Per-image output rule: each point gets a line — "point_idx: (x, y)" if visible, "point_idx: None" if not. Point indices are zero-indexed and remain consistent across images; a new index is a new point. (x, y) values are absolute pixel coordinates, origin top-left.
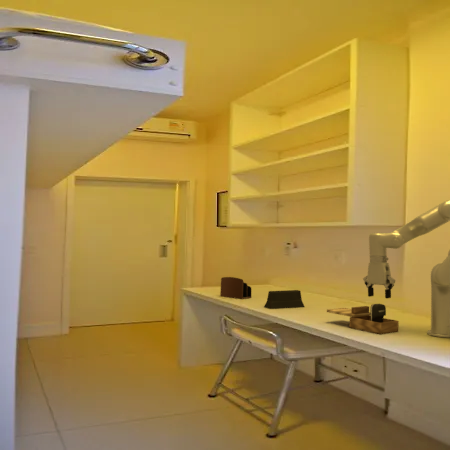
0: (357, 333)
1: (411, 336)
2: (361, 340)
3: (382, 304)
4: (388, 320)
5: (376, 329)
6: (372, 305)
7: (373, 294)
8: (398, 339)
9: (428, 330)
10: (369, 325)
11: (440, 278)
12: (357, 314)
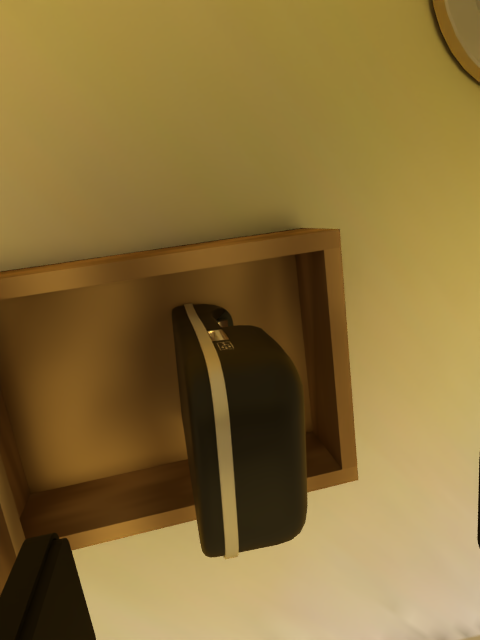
0: None
1: (451, 261)
2: (391, 625)
3: (287, 423)
4: (231, 262)
5: None
6: (236, 556)
7: (59, 562)
8: (468, 413)
9: (453, 7)
10: None
11: None
12: (7, 518)
